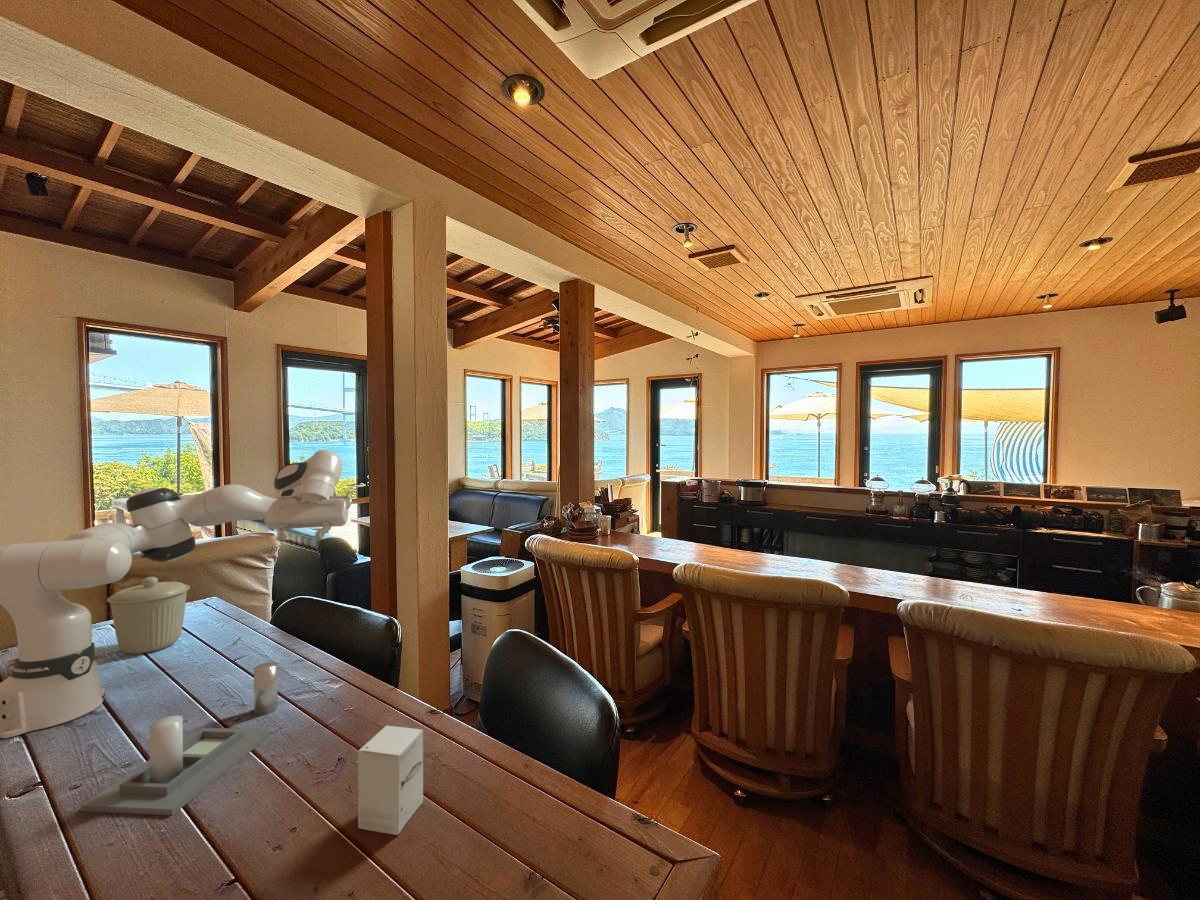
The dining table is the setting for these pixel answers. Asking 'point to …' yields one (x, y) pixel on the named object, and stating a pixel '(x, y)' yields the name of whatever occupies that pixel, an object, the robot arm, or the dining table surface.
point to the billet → (265, 688)
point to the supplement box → (390, 779)
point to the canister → (148, 615)
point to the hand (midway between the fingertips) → (299, 539)
